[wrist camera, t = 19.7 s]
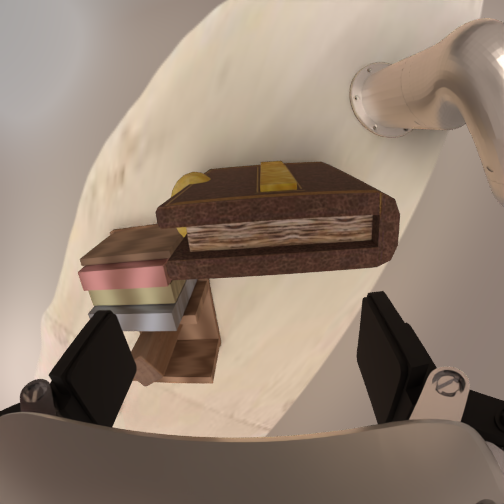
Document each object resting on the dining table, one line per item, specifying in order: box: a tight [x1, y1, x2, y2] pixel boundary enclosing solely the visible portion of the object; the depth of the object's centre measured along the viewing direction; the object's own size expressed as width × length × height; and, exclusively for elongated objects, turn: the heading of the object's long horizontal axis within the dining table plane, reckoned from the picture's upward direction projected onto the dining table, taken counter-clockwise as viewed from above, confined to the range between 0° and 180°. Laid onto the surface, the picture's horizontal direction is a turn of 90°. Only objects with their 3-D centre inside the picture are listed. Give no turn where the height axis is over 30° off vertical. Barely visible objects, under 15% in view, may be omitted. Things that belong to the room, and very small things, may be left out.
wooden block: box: [131, 324, 183, 386], centre depth 46 cm, size 9×4×18 cm, turn 128°
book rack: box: [78, 224, 221, 383], centre depth 46 cm, size 16×25×16 cm, turn 6°
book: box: [156, 161, 400, 280], centre depth 35 cm, size 22×8×25 cm, turn 95°
